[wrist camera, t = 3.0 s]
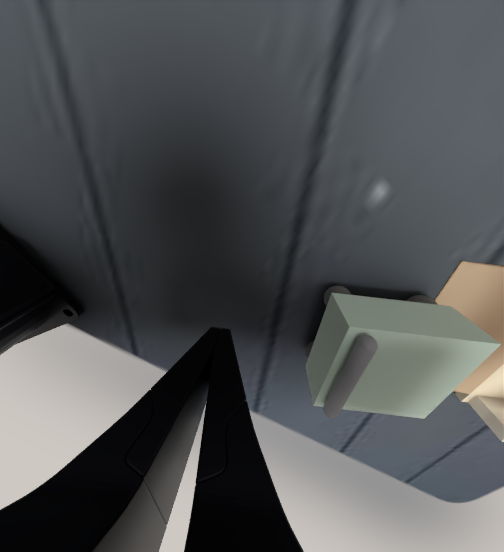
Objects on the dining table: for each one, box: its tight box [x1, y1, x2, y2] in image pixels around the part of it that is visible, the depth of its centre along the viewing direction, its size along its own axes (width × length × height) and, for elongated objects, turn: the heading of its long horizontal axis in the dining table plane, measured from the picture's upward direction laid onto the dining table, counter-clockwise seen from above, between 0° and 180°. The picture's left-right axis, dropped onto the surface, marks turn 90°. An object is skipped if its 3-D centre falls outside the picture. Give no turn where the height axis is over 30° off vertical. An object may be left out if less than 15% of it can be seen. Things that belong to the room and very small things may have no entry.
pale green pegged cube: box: [305, 286, 501, 419], centre depth 9 cm, size 5×5×4 cm
